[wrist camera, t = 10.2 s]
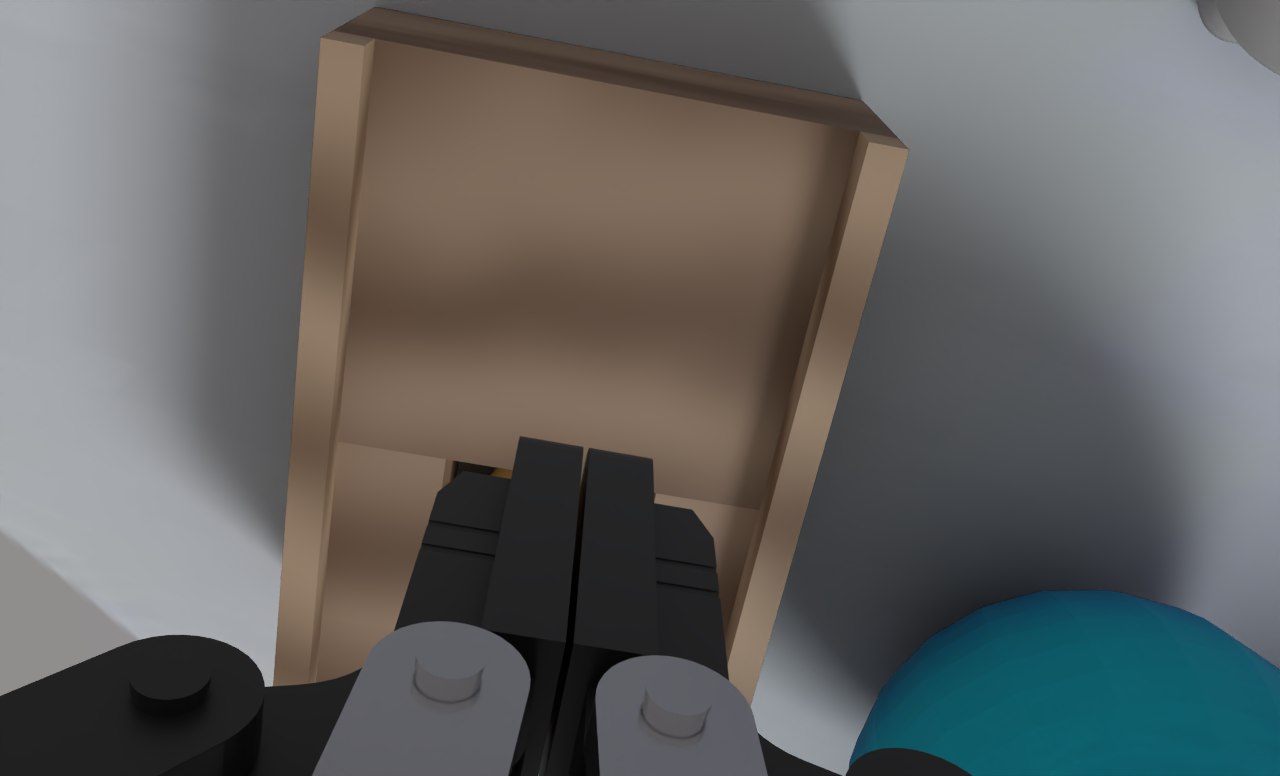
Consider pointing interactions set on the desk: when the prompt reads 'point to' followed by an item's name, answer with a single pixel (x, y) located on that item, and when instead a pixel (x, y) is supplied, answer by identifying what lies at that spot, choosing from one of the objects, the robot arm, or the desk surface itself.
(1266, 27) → the round bodied animal figurine
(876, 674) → the desk surface
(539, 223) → the wooden box
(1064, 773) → the decorative orb
